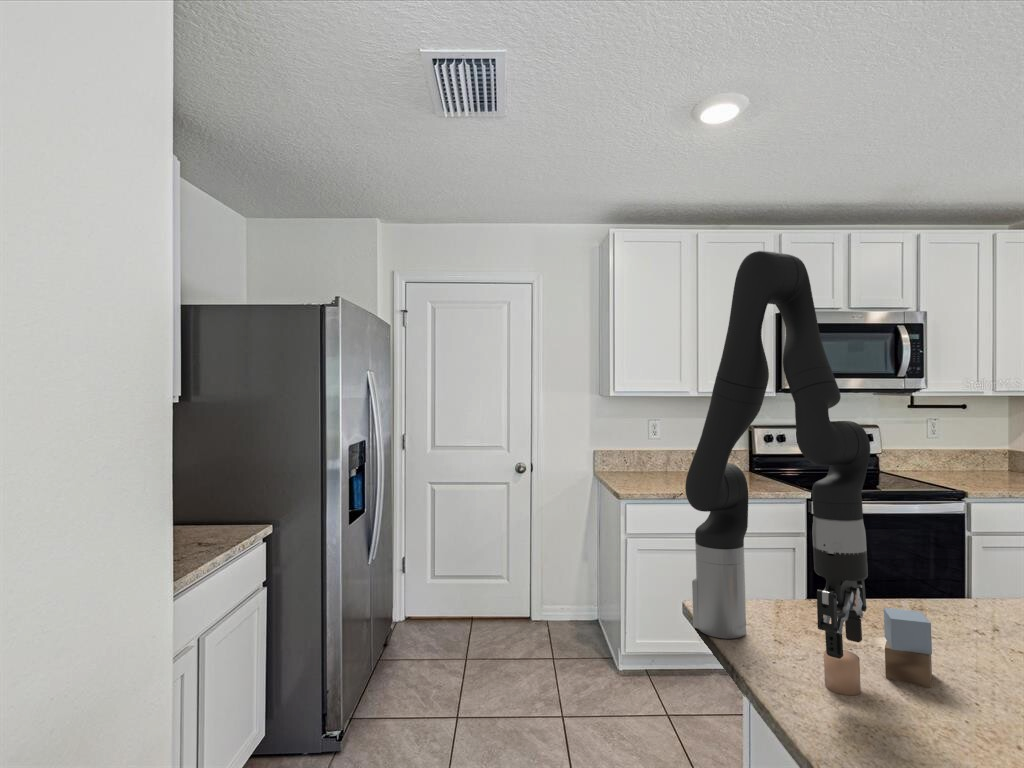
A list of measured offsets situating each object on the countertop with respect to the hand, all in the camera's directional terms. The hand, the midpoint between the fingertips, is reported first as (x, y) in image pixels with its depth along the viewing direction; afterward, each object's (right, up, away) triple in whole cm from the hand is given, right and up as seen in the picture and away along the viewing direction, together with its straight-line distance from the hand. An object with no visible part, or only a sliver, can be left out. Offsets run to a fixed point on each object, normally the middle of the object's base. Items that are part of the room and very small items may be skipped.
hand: (844, 648), depth 93 cm
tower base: (+13, -6, +4) cm, 15 cm away
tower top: (+13, -1, +4) cm, 13 cm away
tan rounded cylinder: (0, -6, 0) cm, 6 cm away
